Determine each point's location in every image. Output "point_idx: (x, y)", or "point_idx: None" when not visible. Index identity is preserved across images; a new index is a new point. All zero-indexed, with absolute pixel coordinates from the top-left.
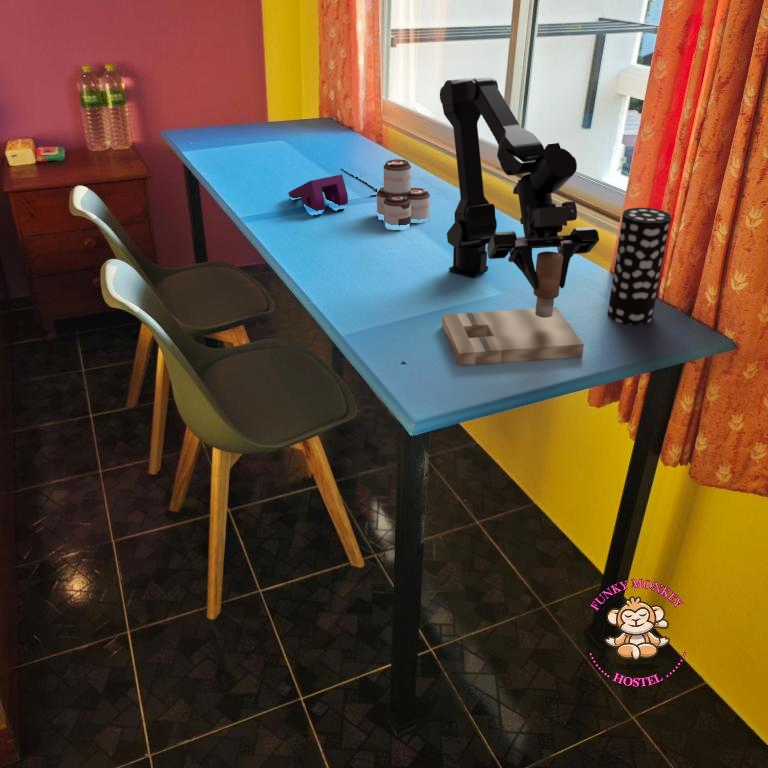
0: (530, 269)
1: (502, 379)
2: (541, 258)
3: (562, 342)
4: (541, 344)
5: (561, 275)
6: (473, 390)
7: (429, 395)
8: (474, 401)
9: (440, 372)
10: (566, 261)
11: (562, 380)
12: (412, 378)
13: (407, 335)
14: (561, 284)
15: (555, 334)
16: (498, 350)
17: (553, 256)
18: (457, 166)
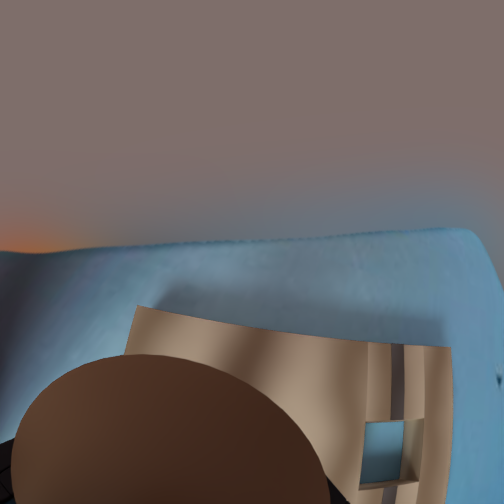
0: (336, 499)
1: (364, 286)
2: (306, 477)
3: (188, 334)
4: (253, 343)
5: None
6: (416, 268)
7: (469, 274)
8: (415, 239)
9: (458, 339)
10: (5, 460)
11: (245, 246)
12: (489, 328)
13: (481, 486)
14: None
15: None
16: (375, 343)
17: (115, 490)
18: None
